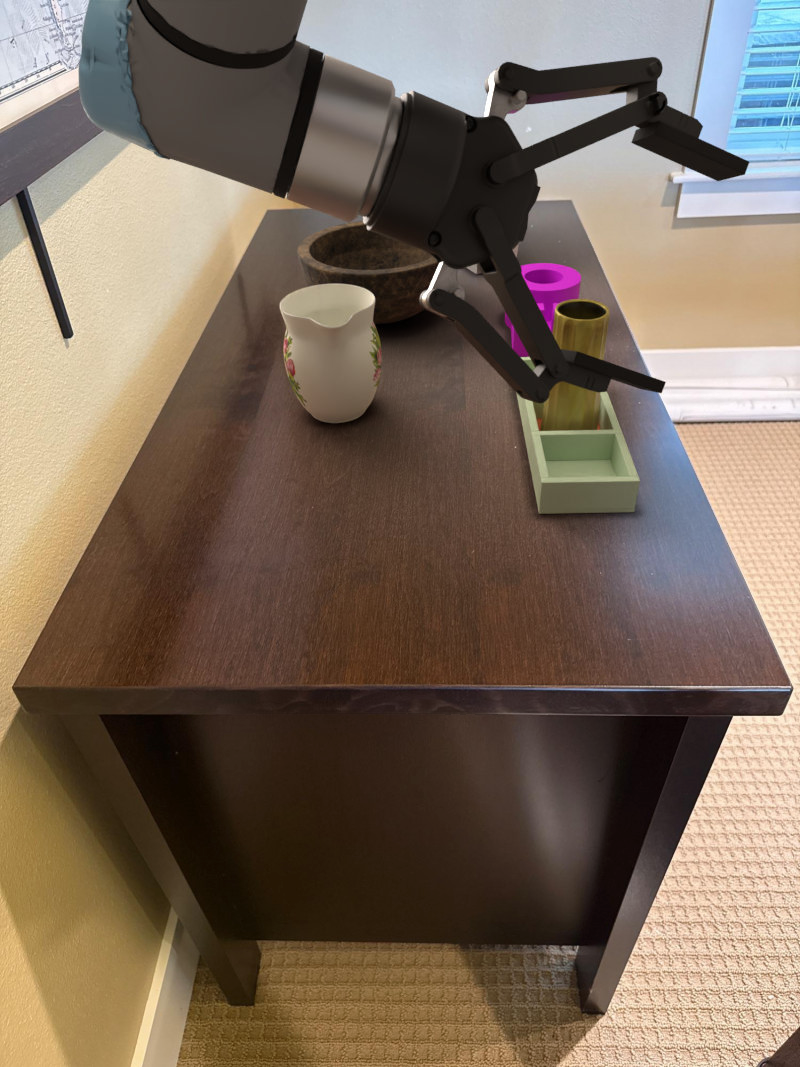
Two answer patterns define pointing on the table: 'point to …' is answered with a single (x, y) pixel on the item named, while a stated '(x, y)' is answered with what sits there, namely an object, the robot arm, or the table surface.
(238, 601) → the table surface
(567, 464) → the tray
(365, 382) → the pitcher
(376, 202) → the robot arm
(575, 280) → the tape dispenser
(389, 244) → the bowl
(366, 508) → the table surface
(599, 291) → the table surface
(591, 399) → the vase
